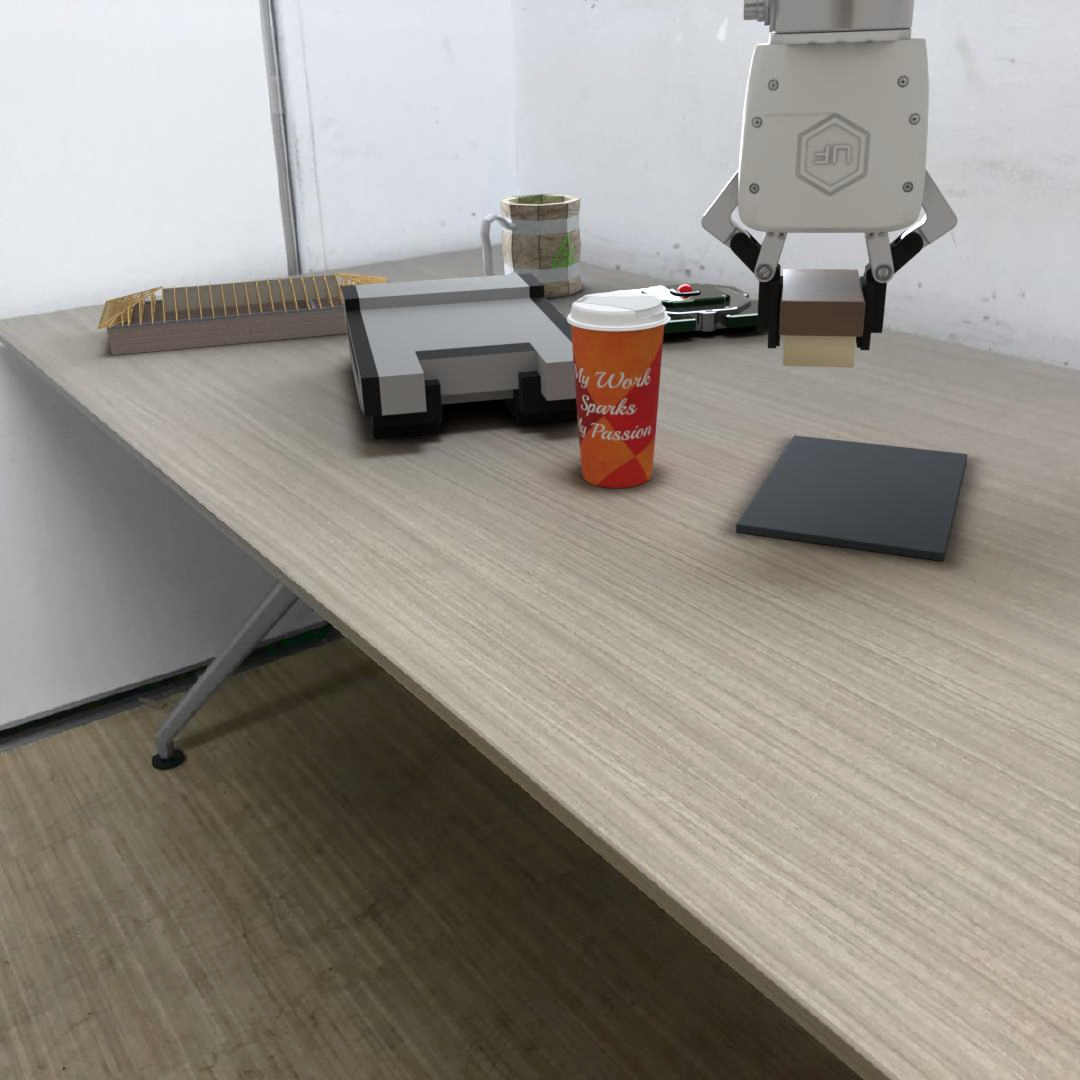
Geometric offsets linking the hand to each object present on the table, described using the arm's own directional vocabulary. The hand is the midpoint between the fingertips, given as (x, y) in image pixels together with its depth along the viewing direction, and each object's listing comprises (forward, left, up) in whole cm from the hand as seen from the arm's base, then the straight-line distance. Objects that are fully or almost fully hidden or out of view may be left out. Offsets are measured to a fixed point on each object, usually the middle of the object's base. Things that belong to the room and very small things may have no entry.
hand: (817, 340), depth 68 cm
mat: (-7, -12, -15) cm, 20 cm away
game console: (+25, -40, -15) cm, 49 cm away
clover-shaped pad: (0, -67, -15) cm, 68 cm away
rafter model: (+53, -69, -15) cm, 88 cm away
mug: (+19, -86, -15) cm, 89 cm away
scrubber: (0, 0, -1) cm, 1 cm away
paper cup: (+11, -17, -15) cm, 25 cm away
